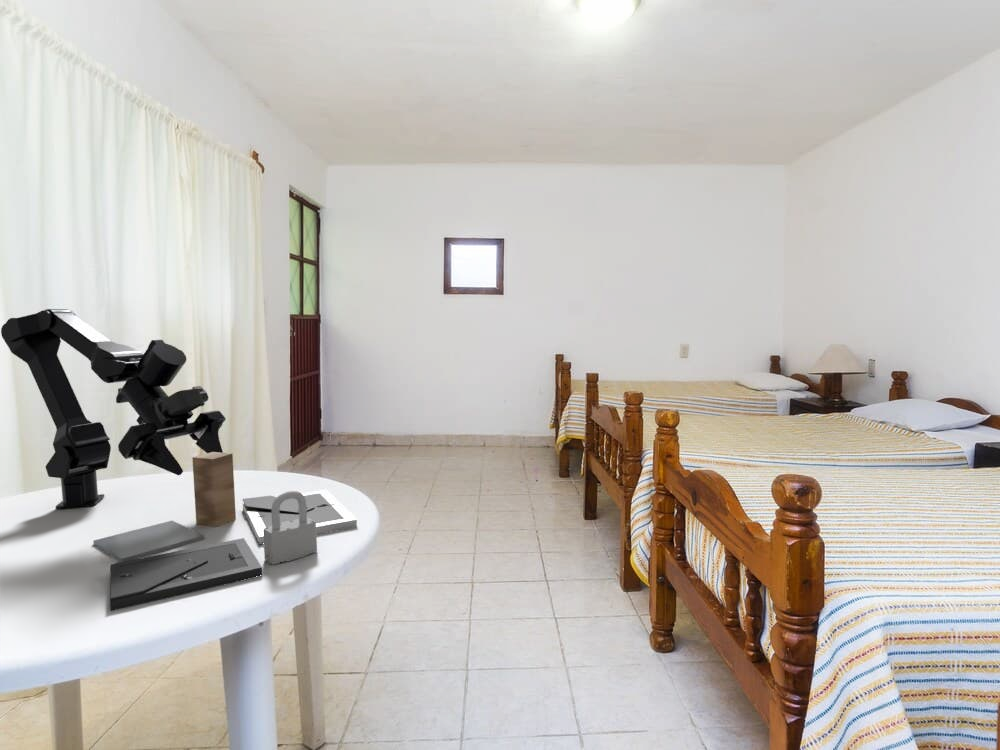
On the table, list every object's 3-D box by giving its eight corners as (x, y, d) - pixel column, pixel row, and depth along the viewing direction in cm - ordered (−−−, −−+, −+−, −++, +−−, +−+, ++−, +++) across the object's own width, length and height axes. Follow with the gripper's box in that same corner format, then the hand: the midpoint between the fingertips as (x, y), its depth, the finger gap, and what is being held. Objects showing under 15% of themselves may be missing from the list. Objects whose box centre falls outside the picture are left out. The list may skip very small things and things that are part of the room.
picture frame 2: (243, 513, 112) (259, 549, 94) (242, 498, 112) (258, 532, 94) (327, 499, 120) (357, 531, 102) (326, 486, 120) (356, 515, 102)
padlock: (274, 567, 86) (270, 499, 85) (262, 559, 89) (259, 494, 88) (319, 553, 91) (316, 489, 90) (307, 546, 94) (304, 484, 93)
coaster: (93, 544, 95) (93, 540, 95) (172, 523, 104) (172, 520, 104) (122, 562, 88) (121, 558, 88) (204, 538, 97) (204, 535, 97)
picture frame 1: (110, 616, 73) (262, 580, 83) (109, 598, 73) (261, 565, 83) (110, 577, 84) (244, 549, 94) (109, 561, 84) (243, 535, 94)
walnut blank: (196, 524, 104) (192, 457, 103) (216, 516, 108) (212, 451, 107) (216, 527, 103) (212, 459, 101) (235, 518, 107) (232, 453, 106)
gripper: (125, 378, 97) (180, 448, 94) (215, 368, 114) (264, 427, 112) (94, 423, 100) (147, 492, 98) (186, 407, 118) (233, 466, 115)
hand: (202, 467), depth 105 cm, fingers open, 9 cm apart
